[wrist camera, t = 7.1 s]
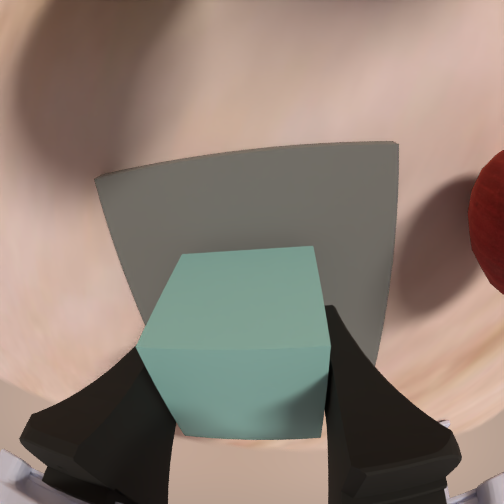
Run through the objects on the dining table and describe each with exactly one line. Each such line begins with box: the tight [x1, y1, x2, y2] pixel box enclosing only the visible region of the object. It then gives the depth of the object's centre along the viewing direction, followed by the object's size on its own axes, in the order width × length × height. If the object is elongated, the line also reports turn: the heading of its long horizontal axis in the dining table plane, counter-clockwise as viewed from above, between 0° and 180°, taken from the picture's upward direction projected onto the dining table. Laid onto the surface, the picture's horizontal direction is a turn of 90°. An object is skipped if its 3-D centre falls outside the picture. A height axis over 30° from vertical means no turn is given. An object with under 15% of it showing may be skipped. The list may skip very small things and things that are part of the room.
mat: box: [94, 141, 399, 366], centre depth 14 cm, size 12×12×1 cm
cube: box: [136, 246, 331, 440], centre depth 11 cm, size 5×5×5 cm
